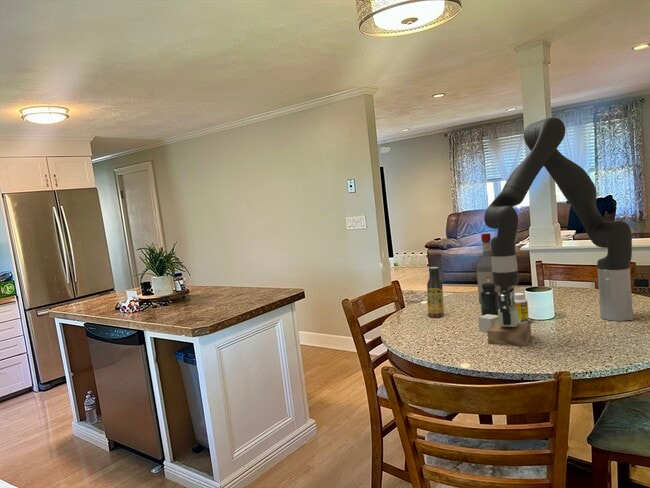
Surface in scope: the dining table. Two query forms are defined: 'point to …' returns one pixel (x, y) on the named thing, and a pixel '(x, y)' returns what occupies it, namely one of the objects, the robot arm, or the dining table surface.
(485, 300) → the supplement bottle
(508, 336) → the walnut block
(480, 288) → the liquor
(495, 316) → the grey cube
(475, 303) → the dining table surface
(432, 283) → the sauce bottle
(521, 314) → the supplement bottle
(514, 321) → the sage cube
